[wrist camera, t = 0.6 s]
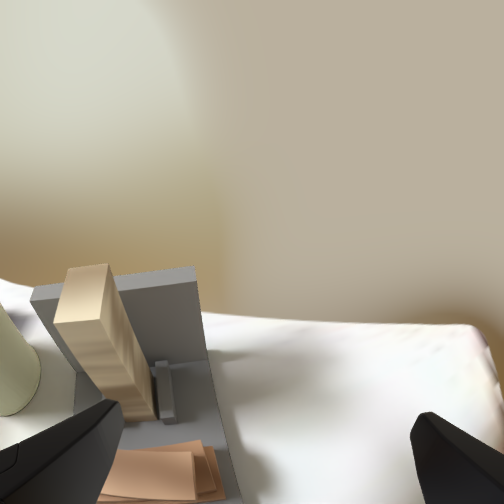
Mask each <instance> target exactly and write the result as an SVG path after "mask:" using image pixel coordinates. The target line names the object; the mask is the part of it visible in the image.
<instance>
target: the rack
mask: <svg viewBox="0 0 504 504" xmlns="http://www.w3.org/2000/svg"><path fill="white" fill-rule="evenodd" d="M113 278H114V281H115V284H116V287H117V290H118V292H119V295H120V298H121V301H122V303H123V306H124V309H125V311H126V314H127V316H128V319H129V321H130V324H131V326H132V329H133V331H134V334H135V336H136V339H137V341H138V343H139V346H140V348H141V350H142V352H143V355H144V357H145V359H146V361H147V364H148V366H149V368H150V370H151V372H152V374H153V376H154V387H155V399H156V409H157V419H158V420H154V421H141V422H126V421H125V420H124V421H125V424H124V429H123V432H122V435H121V438H120V442H119V445H118V448H117V449H119V450H136V449H144V448H152V447H160V446H166V445H173V444H179V443H184V442H190V441H195V440H201V442H202V444H203V447H206V446H213V448H214V452H215V456H216V460H217V465H218V469H219V473H220V477H221V481H222V485H223V489H224V492H225V496H226V500H220V501H213V502H206V503H197V504H243V501H242V498H241V494H240V491H239V487H238V484H237V480H236V477H235V473H234V469H233V465H232V462H231V458H230V454H229V450H228V446H227V442H226V438H225V434H224V430H223V425H222V421H221V417H220V413H219V408H218V404H217V399H216V395H215V390H214V385H213V381H212V376H211V371H210V366H209V361H208V355H207V349H206V343H205V336H204V330H203V323H202V316H201V309H200V303H199V295H198V287H197V280H196V274H195V267H194V266H189V267H181V268H173V269H166V270H159V271H151V272H144V273H135V274H129V275H120V276H113ZM63 285H64V283H58V284H50V285H42V286H35V288H34V290H33V293H32V296H31V298H30V303H31V305H32V306H33V308H34V310H35V311H36V313H37V315H38V316H39V318H40V320H41V321H42V323H43V324H44V326H45V328H46V329H47V331H48V332H49V334H50V335H51V337H52V338H53V340H54V341H55V343H56V344H57V346H58V347H59V349H60V350H61V352H62V353H63V354H64V356H65V357H66V359H67V360H68V361H69V363H70V364H71V365H72V367H73V368H74V369H75V371H76V372H77V375H76V387H75V400H74V415H76V414H77V413H79V412H81V411H83V410H85V409H87V408H89V407H91V406H93V405H94V404H96V403H98V402H100V401H102V400H104V399H106V398H105V396H104V395H103V394H102V393H101V391H100V390H99V389H98V388H97V386H96V385H95V384H94V382H93V381H92V380H91V378H90V377H89V376H88V374H87V373H86V372H85V370H84V369H83V368H82V366H81V365H80V363H79V362H78V361H77V359H76V358H75V356H74V355H73V353H72V352H71V350H70V349H69V347H68V346H67V344H66V343H65V341H64V340H63V338H62V337H61V335H60V333H59V332H58V330H57V329H56V327H55V325H54V324H53V322H54V318H55V314H56V310H57V306H58V303H59V299H60V295H61V292H62V289H63Z"/></svg>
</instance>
